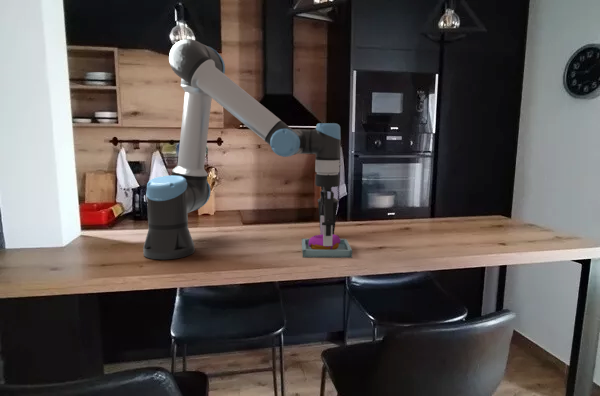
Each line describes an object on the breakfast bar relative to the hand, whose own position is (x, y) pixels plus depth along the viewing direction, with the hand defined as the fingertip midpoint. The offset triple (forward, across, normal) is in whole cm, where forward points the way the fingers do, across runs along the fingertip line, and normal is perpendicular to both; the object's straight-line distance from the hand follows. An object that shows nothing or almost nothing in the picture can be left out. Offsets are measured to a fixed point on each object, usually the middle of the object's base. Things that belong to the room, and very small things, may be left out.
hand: (325, 240), depth 134 cm
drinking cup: (+4, +18, -2) cm, 19 cm away
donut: (+3, 0, 0) cm, 3 cm away
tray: (+4, 0, 0) cm, 4 cm away
